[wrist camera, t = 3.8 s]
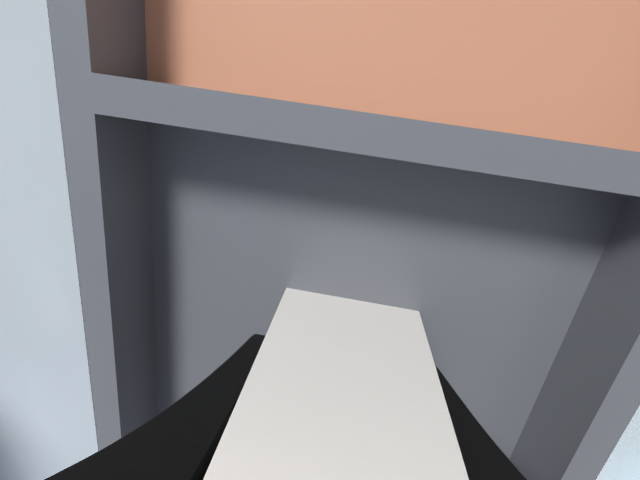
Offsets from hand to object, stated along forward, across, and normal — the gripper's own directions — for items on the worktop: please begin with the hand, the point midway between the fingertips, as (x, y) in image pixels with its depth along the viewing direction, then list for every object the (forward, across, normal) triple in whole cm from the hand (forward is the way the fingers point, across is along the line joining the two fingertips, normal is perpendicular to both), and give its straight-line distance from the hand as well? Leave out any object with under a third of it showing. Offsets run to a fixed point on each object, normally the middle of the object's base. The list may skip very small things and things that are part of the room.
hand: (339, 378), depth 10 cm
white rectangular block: (+1, 0, 0) cm, 1 cm away
